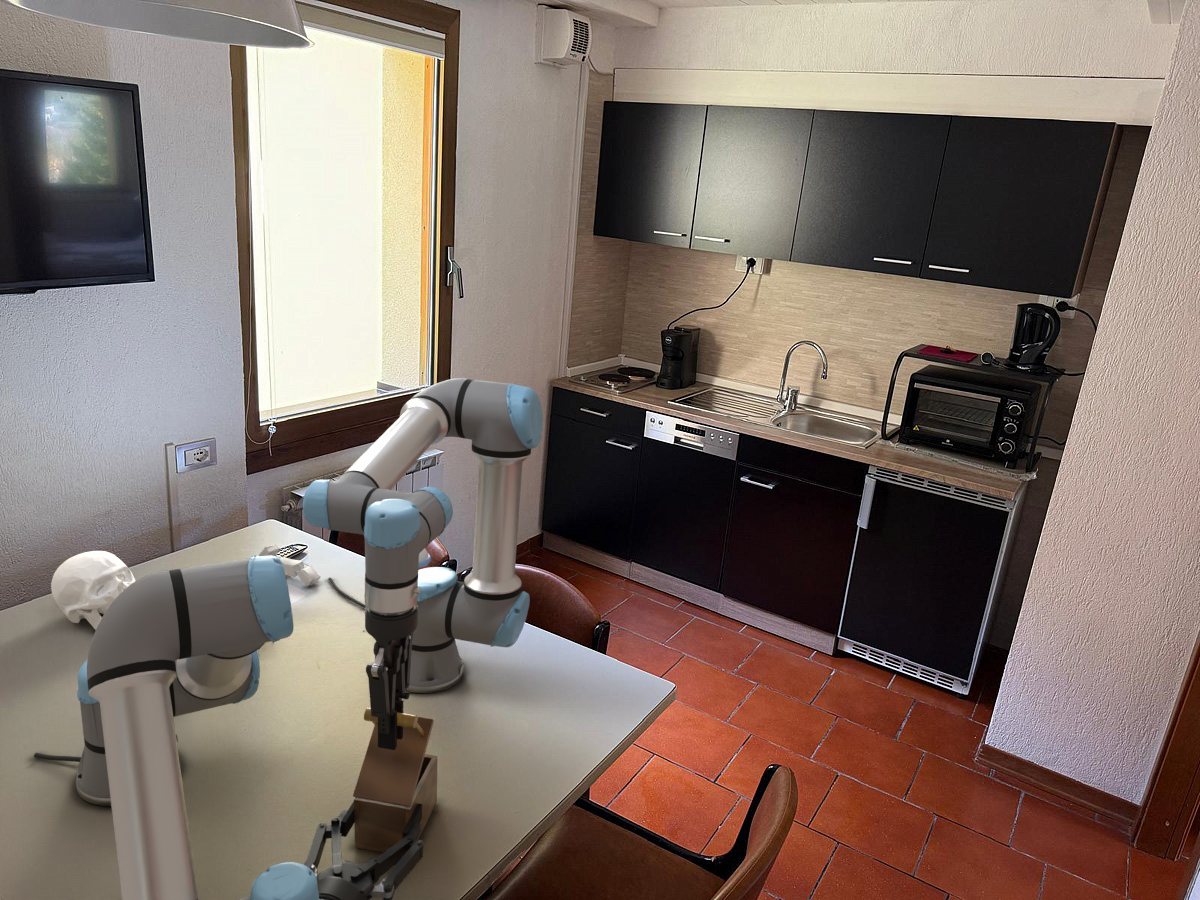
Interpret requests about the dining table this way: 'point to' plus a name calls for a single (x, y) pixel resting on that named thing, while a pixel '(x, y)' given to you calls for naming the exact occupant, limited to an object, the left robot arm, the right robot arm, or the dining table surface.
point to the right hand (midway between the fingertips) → (390, 741)
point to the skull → (89, 585)
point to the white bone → (293, 566)
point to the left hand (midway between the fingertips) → (390, 805)
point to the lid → (394, 762)
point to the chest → (394, 812)
